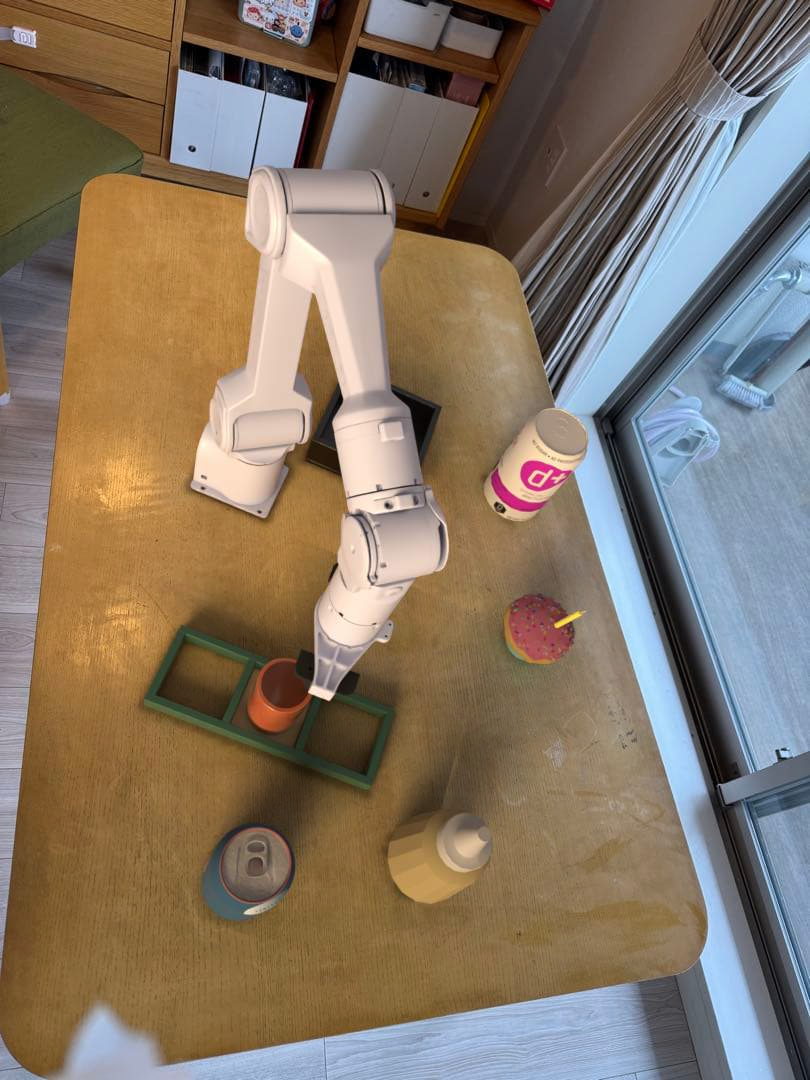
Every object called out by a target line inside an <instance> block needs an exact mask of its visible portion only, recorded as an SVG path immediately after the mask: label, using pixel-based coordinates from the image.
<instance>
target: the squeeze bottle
mask: <svg viewBox="0 0 810 1080" xmlns="http://www.w3.org/2000/svg"><path fill="white" fill-rule="evenodd" d="M493 845H494V839H493V835H492V832H491V829H490V827H489V826H488V824H487V823H486V822H485V820H484V819H482V818H481V817H479V816H478V815H476V814H475V813H472V812H471V811H470V810H468V809H466V808H462V807H456V806H450V807H446V808H442V809H438V810H434V811H429V812H425V813H421V814H418V815H413V816H410V817H408V818H407V819H406V820H404V821H403V822H402V823H400V824H399V825H398V826H397V827H396V829H395V831H394V832H393V835H392V836H391V838H390V840H389V842H388V851H387V860H386V861H387V864H388V868H389V872H390V876H391V879H392V880H393V882H394V883H395V885H396V886H397V888H398V889H399V890H400V892H401V893H403V894H404V895H405V896H407V897H409V898H410V899H412V900H413V901H415V902H418V903H423V904H429V905H433V904H436V903H439V902H443V901H446V900H449V898H451V897H453V896H454V895H456V894H458V893H459V892H461V891H463V890H464V889H466V888H467V887H469V886H471V885H472V884H473V883H475V882H476V881H477V880H478V879H479V878H481V876H483V875H484V874H485V872H486V870H487V868H488V866H489V863H490V861H491V858H492V857H491V855H492V853H493Z"/></svg>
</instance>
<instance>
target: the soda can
mask: <svg viewBox="0 0 810 1080" xmlns="http://www.w3.org/2000/svg"><path fill="white" fill-rule="evenodd" d="M291 845H292V844H291V843H290V842H289V840H288V838H287V837H286V836H285V835H284V834H283V832H281V831H280V830H279V829H277V828H276V827H274V826H271V824H270V825H269V824H267V823H264V822H263V823H262V822H248V823H244V824H241V825H238V826H236V827H234V828H232V829H231V830H230V831H228V832H227V833H226V834H225V835H224V836H223V837H222V838H221V839H220V840H219V842H218V843H217V844H216V846H215V847H214V849H213V851H212V852H211V854H210V855H209V857H208V858H207V860H206V862H205V864H204V867H203V870H202V873H201V880H200V881H201V883H200V885H201V892H202V895H203V898H204V901H205V903H206V904H207V907H209V909H210V910H211V911H212V912H213V913H214V914H215V915H217V916H218V917H220V918H223V919H224V920H228V921H231V922H242V921H246V920H250V919H252V918H255V917H256V916H258V915H260V914H262V913H264V912H267V911H268V910H270V909H272V908H273V907H275V906H276V905H278V904H279V903H280V902H281V901H282V900H283V899H284V897H285V896H286V895H287V893H288V892H289V890H290V889H291V886H292V884H293V881H294V878H295V873H296V858H295V854H294V853H295V852H294V850H293V846H291Z"/></svg>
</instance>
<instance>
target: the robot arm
mask: <svg viewBox="0 0 810 1080" xmlns="http://www.w3.org/2000/svg"><path fill="white" fill-rule="evenodd" d="M395 201H396V200H395V195H394V191H393V189H392V186H391V184H390V183H389V181H388V179H387V178H386V176H385V174H384V173H383V172H382V171H381V170H379V169H377V168H366V169H363V170H362V169H361V170H360V169H359V170H357V169H355V170H354V169H327V168H326V169H325V168H302V167H301V168H296V167H275V166H274V165H267V164H265V165H260V166H257V167H254V168H252V169H251V175H250V176H249V179H248V187H247V197H246V205H245V206H246V207H245V216H244V233H245V234H244V238H245V239H246V240H247V241H248V242H249V243H250V244H251V245H252V246H253V247H254V248H255V249H256V250H257V251H258V253H260V256H259V257H260V258H259V265H258V273H257V279H256V288H255V297H254V305H253V312H252V320H251V327H250V334H249V343H248V348H247V350H248V351H247V358H246V363H244V364H243V365H241V366H239V367H238V368H236V369H234V370H232V371H230V372H228V373H227V374H225V375H223V376H221V377H219V378H218V379H217V381H216V386H215V388H214V392H213V396H212V397H211V399H210V401H209V419H208V421H207V423H206V425H205V427H204V429H203V431H202V433H201V436H200V438H199V443H198V445H197V448H196V454H195V462H194V469H193V479H192V481H191V482H190V488H191V490H192V491H193V490H194V491H195V492H199V493H201V494H202V495H206V496H208V497H210V498H212V499H215V500H217V501H220V502H222V503H225V504H227V505H229V506H232V507H234V508H237V509H239V510H241V511H244V512H247V513H249V514H251V515H254V516H256V517H258V518H261V519H266V518H267V517H268V516H269V513H270V511H271V509H272V507H273V505H274V503H275V501H276V499H277V497H278V494H279V492H280V490H281V488H282V486H283V484H284V482H285V480H286V477H287V475H288V474H289V470H290V468H289V467H288V466H287V465H285V464H284V463H285V460H286V456H287V453H289V452H292V451H294V450H295V447H296V444H297V445H304V444H306V443H307V442H308V440H309V438H310V436H311V434H312V431H313V404H314V398H313V395H312V392H311V389H310V386H309V384H308V382H307V381H306V378H305V377H304V376H303V374H302V373H301V372H300V371H298V369H299V363H300V358H301V354H302V348H303V344H304V338H305V334H306V329H307V324H308V318H309V314H310V309H311V304H312V300H313V295H315V298H316V303H317V306H318V311H319V314H320V318H321V321H322V326H323V328H324V332H325V336H326V340H327V343H328V346H329V350H330V355H331V358H332V361H333V366H334V369H335V373H336V376H337V380H338V382H339V384H340V388H341V392H342V395H343V403H342V405H341V407H340V409H339V410H338V412H337V414H336V416H335V417H334V419H333V422H332V424H333V429H334V435H335V440H336V446H337V451H338V457H339V462H340V468H341V473H342V477H341V478H342V484H343V489H344V494H345V499H346V506H347V511H348V513H346V512H343V514H342V517H341V522H340V544H339V548H338V551H336V552H337V553H336V554H337V559H336V560H337V561H336V563H335V564H333V566H332V569H331V571H330V573H329V576H328V579H327V580H328V581H327V582H328V586H327V587H326V589H325V590H324V592H323V593H322V594H321V595H320V597H319V598H318V600H317V601H316V604H315V607H314V613H313V626H314V627H313V629H314V630H313V632H314V633H313V636H314V638H313V639H314V642H313V643H314V653H313V652H311V651H308V650H305V649H303V648H301V649H300V651H299V654H298V656H297V659H296V664H295V667H294V676H295V677H297V678H299V679H301V680H303V684H304V687H305V688H306V689H308V690H309V691H308V693H310V694H313V695H315V696H317V697H320V698H322V699H323V700H325V701H328V702H330V701H331V700H333V699H332V697H333V696H334V694H335V693H337V694H340V695H343V696H346V697H349V696H350V695H351V694H352V693H355V691H356V689H357V686H358V683H359V680H360V677H361V674H360V673H359V672H356V671H353V670H352V668H353V667H354V666H355V665H356V664H357V663H358V661H359V660H360V659H361V658H362V656H363V655H364V654H365V653H366V652H367V650H368V649H369V648H370V647H371V646H372V644H374V643H375V642H379V643H382V644H386V643H388V642H389V640H390V639H391V638H392V635H393V632H394V628H395V623H394V621H393V620H391V619H390V616H391V615H392V614H393V612H394V611H395V609H396V608H397V606H398V605H399V603H400V602H401V601H402V599H403V598H404V597H405V595H406V594H407V592H408V591H409V589H410V588H411V587H412V585H413V584H414V582H415V581H416V579H417V578H419V577H424V576H429V575H431V574H433V573H435V572H440V571H442V570H443V569H444V568H445V567H446V564H447V562H448V558H449V554H450V537H449V532H448V530H449V529H448V524H447V520H446V517H445V514H444V512H443V510H442V508H441V507H440V504H439V503H438V501H437V500H436V498H435V495H434V490H433V489H432V487H431V485H430V484H424V480H423V475H422V474H423V473H422V467H421V468H420V462H419V457H418V451H417V446H416V440H415V435H414V430H413V424H412V418H411V413H410V409H409V407H408V406H407V405H406V404H405V403H403V402H402V401H401V400H400V399H399V398H397V397H396V396H395V395H394V394H393V393H392V391H391V384H392V383H391V376H390V365H389V353H388V344H387V334H386V333H387V332H386V321H385V313H384V302H383V292H382V282H381V272H382V270H383V269H384V268H385V266H386V264H387V263H388V260H389V257H390V255H391V252H392V247H393V243H394V239H395V227H396V217H397V213H396V202H395ZM259 512H260V513H259Z"/></svg>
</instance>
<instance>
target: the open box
mask: <svg viewBox="0 0 810 1080" xmlns="http://www.w3.org/2000/svg"><path fill="white" fill-rule="evenodd" d="M391 391H392V393H393V394H394V395H395V396H396V397H397V398H399V399H400V400H401V401H402V402H403V403H405V404H406V405H407V406H408V407H409V409H410V413H411V418H412V424H413V430H414V435H415V440H416V446H417V451H418V457H419V462H420V468H421V469H422V466H423V463H424V461H425V458H426V454H427V452H428V450H429V447H430V443H431V440H432V437H433V434H434V432H435V429H436V426H437V424H438V420H439V417H440V415H441V412H442V409H443V406H442V405H440V404H437V403H436V402H434V401H431V400H428V399H426V398H425V397H421V396H420V395H417V394H415V393H413V392H411V391H408V390H406V389H404V388H401V387H400V386H397V385H396V384H393V383H391ZM342 403H343V395H342V392H341V388H340V384H339V381H338V382H337V385H336V387H335V388H334V391H333V393H332V395H331V397H330V399H329V402H328V404H327V406H326V407H325V410H324V412H323V414H322V417H321V419H320V420H319V422H318V425H317V427H316V429H315V430H314V434H313V435H312V438H311V440H310V443H309V447H308V448H307V449H308V450H307V453H306V456H305V458H304V461H305V462H307V463H309V464H311V465H313V466H316V467H318V468H321V469H322V470H325V471H327V472H330V473H331V474H334V475H337V476H339V477H341V478H342V473H341V468H340V462H339V457H338V451H337V446H336V440H335V435H334V429H333V424H332V422H333V419H334V417H335V416H336V414H337V412H338V410H339V409H340V407H341V405H342Z"/></svg>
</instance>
